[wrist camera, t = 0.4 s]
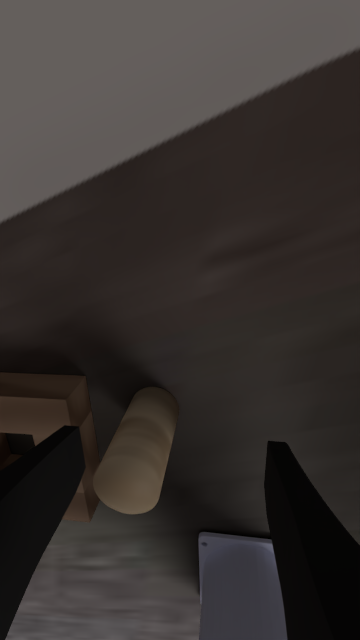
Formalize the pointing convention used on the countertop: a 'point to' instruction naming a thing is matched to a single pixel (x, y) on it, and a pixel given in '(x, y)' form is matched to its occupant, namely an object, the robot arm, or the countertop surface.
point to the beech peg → (138, 453)
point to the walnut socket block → (51, 424)
